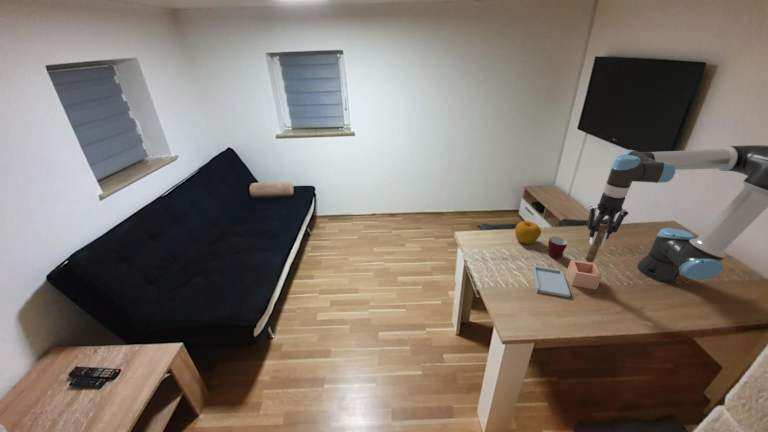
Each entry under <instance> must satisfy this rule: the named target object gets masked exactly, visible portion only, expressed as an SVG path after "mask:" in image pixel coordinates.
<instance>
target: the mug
mask: <svg viewBox="0 0 768 432" xmlns="http://www.w3.org/2000/svg"><path fill="white" fill-rule="evenodd" d="M547 244H548V245H547V255H548V256H549V257H550V258H552V259H562V258H563V256H564V252H565V250H566V248H567V245H568V241H567V240H566V239H565V238H563V237H560V236H551V237H549V239H548V243H547Z"/></svg>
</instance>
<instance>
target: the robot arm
mask: <svg viewBox="0 0 768 432" xmlns="http://www.w3.org/2000/svg"><path fill="white" fill-rule="evenodd" d="M712 169H713V170H714V169H715V170H716V169H717V170H719V171H721V172H734V173H739V174H742V175H744V176H747V177H746V178H744V180H742V181H743V185H744V188H743V189H741V190H740V192H738V194H737V195H736V196H735V197H734V198H733V199H732V200H731V201H730V202H729V204H727V206H725V207H724V209H723V210H722V211H721V212H720V213H719V214H718V215H717V216H716V218H715V219H714V220H713V221H712V222H711V223H710V224H709V225H708V227H706V228H705V229H704V231H703V232H702V233H701V234H700V235H698V236H697V238H696V236H695V234H693V233H691V232H689V231H686V230H683V229H679V228H671V227H665V228H661V229H660V230H659V232H658V233H657V235H656V237H655V239H654V241H653V243H652V245H651V248H650V249H649V251H648V254H646V255H645V256H643V258H642V259H640V260H639V262H638V264H637V270H639V272H640V273H641V274H643V275H644V276H646V277H648V278H650V279H653V280H656V281H658V282H663V283H674V282H676V281H678V279H679V278H680V273H681V274H682V275H684V276H685V277H687V278H688V279H691V280H693V281H705V280H710V279H712V278H715V277H717V276H719V275H720V274H721V273H723V270H724V268H723V267H724V265H723V263H722V262H721V261H723V259H725V258H726V253H725V251H726V250H727V248H728V247H729V246H730V245H731V244H732V243H734V241H736V239H737V238H738V237H739V236H740V235H741V234H742V233H743V232H745V231H746V230H747V229H748V228H749V226H750V225H752V224H753V222H755V221H756V220H757V219H758V218H759V217H760V215H762V213H764V212H765V211H766V210H767V209H768V145H762V144H761V145H760V144H759V145H756V144H755V145H752V144H751V145H749V144H747V145H745V144H744V145H727V146H723V147H720V149H718V148H716V149H698V150H697V149H696V150H692V149H691V150H689V149H688V150H669V151H668V150H667V151H665V150H664V151H643V152H641V151H638V150H633V149H628V150H625V151H623V152H621V154H618V155H617V156H616V157H615V158H614V161H613V163H612V165H611V169H610V172H609V175H608V178H607V181H606V182H605V183H606V184H605V187H604V189H603V192H602V195H601V197H600V200H599V202H598V204H597V205H595V206H591V205H590V206H589V207H588V208H589V214H588V219H587V224H586V227H587V229H588V230H590V232H589V234H588V236H589V238H590V239H589V244H590V246H591V245H593V244H594V241H595V238H596V236H597V233H598V232H597V231H596V230H597V228H598V227H599V225H600V224H602V221H603V219H605V217H607V221H606V226H607V228H606V231H605V233H604V236H603V238H602V241H601V244H600V246H599V247H604V245H605V244H604V243H605V241H606V240H608V239H609V238H610V235H612V234H613V233H614V234H615V233H617V232H618V230H619V228H620V226H621V224H622V223H623V221H624V219H625V217H626V216H628V215H629V212H628V211H627V209H623V205H624V203H625V201H626V197H627V196H628V193H629V191H630V188H631V185H632V183H633V182H638V183H656V184H658V183H660V184H661V183H669V182H670V181H671V180H672V179H674V176H675V174H676V171H677V170H682V171H683V170H712ZM597 210H598V213H597ZM596 213H597V217H596ZM617 214H618V215H617ZM616 215H617V217H615V216H616ZM595 217H596V218H595ZM615 218H616V219H615Z"/></svg>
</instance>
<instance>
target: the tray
mask: <svg viewBox="0 0 768 432" xmlns="http://www.w3.org/2000/svg"><path fill="white" fill-rule="evenodd" d="M531 273H532V276H533V282H534V287H535V291H536V294H538V295H539V293H540V294H546V295H551V296H557V297H558V296H559V297H564V298H571V296H572V294H571V292H570V289H569V286H568V283H567V280H566V277H565V274H564V271H563V270H562V269H557V268H552V267H545V266H539V265H532V267H531Z"/></svg>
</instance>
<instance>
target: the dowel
mask: <svg viewBox="0 0 768 432" xmlns="http://www.w3.org/2000/svg"><path fill="white" fill-rule="evenodd" d="M606 228H607V224H604V223H600V225H599V227H598V228H597V230H596V231H597V232H598V233H597V236H596V238H595V241H594V244H593V245H591V244H590V247H589V249H588V252H587V254H586V257H585V262H588V263H594V262H595V259H596V256H597V254H598V251H599V248H600V247H601V246H600V244H601V241H602V238H603V236H604V233H605V231H606Z"/></svg>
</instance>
